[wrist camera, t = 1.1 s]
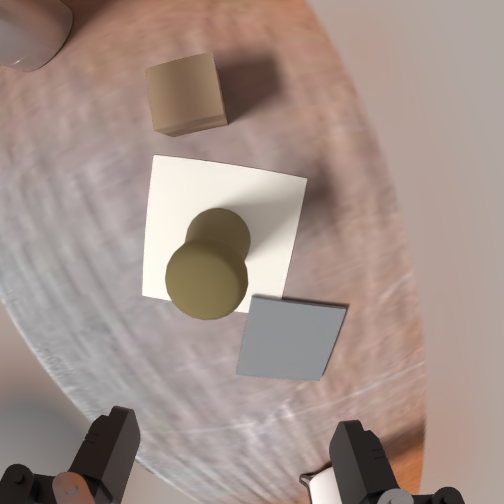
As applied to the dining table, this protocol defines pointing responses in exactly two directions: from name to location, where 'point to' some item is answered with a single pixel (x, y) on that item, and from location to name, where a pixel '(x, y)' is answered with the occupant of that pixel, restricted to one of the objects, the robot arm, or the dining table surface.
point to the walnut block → (186, 95)
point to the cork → (210, 266)
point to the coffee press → (322, 488)
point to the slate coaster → (288, 338)
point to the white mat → (227, 197)
